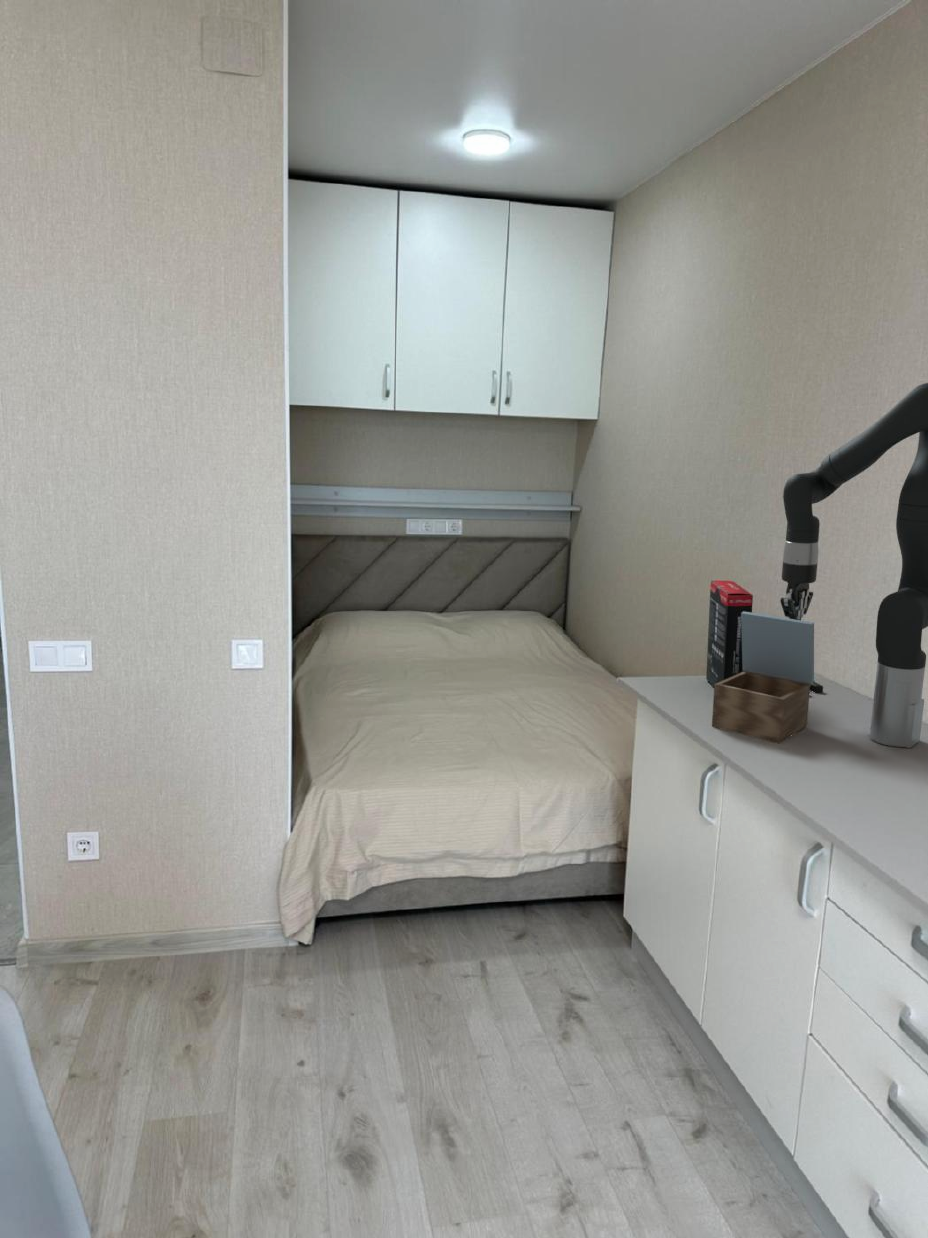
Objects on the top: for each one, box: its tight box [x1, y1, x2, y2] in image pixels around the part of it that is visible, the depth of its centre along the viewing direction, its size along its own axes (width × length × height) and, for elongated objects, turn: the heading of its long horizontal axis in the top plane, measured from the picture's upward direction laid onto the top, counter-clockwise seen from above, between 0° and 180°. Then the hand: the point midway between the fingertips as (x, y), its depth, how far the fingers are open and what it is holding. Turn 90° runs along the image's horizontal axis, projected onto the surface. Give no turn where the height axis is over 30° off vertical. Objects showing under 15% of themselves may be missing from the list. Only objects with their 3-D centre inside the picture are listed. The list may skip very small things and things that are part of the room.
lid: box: [741, 611, 815, 686], centre depth 204 cm, size 17×15×1 cm
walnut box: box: [711, 671, 811, 744], centre depth 202 cm, size 16×14×10 cm
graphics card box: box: [705, 580, 754, 689], centre depth 227 cm, size 17×7×27 cm, turn 0°
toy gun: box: [810, 680, 824, 694], centre depth 229 cm, size 10×12×5 cm
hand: (794, 633), depth 210 cm, fingers closed
